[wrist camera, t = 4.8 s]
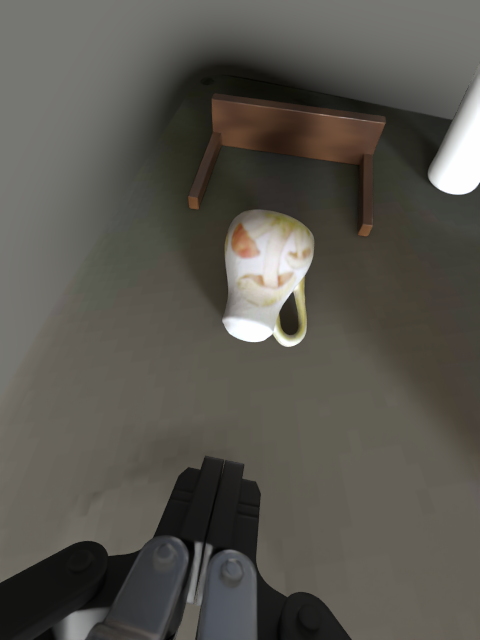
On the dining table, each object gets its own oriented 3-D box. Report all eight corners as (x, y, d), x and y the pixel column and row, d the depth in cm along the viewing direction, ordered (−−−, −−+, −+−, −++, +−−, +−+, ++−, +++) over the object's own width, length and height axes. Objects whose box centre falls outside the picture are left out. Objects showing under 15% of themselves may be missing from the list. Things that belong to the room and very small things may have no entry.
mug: (199, 350, 27) (185, 224, 22) (245, 298, 35) (242, 196, 30) (291, 371, 25) (298, 233, 20) (318, 309, 32) (328, 199, 27)
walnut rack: (189, 208, 35) (183, 164, 30) (215, 138, 41) (214, 93, 36) (367, 236, 34) (388, 195, 29) (368, 160, 40) (385, 116, 35)
